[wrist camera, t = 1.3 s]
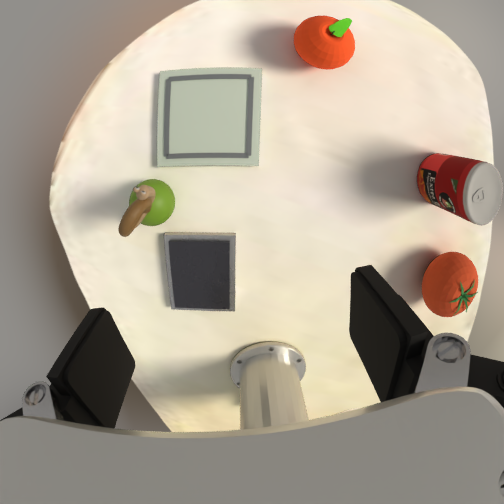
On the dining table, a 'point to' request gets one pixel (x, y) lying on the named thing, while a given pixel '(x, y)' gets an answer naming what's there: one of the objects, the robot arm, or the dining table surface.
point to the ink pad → (201, 270)
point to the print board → (209, 117)
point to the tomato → (449, 284)
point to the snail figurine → (147, 206)
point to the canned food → (461, 186)
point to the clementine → (324, 41)
